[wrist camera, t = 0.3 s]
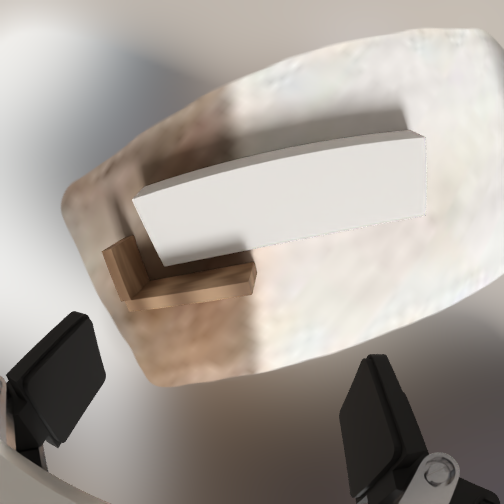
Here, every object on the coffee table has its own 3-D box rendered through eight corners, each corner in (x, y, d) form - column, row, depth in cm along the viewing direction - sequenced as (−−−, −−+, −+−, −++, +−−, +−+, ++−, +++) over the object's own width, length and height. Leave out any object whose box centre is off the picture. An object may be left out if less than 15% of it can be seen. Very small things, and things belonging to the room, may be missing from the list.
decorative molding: (410, 199, 34) (407, 128, 29) (425, 215, 30) (425, 137, 25) (173, 246, 40) (146, 184, 35) (164, 266, 36) (131, 199, 31)
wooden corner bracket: (240, 208, 34) (232, 219, 29) (257, 273, 37) (252, 294, 31) (124, 237, 37) (101, 251, 32) (144, 292, 40) (126, 312, 34)
